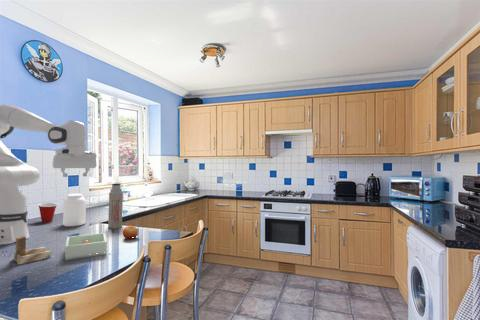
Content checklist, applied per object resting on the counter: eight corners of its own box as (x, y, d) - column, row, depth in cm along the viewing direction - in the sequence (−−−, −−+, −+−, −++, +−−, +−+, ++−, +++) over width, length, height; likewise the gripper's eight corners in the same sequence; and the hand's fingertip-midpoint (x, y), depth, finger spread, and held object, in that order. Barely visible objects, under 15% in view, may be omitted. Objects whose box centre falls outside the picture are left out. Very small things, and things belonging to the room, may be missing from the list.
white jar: (89, 222, 178) (90, 193, 178) (76, 227, 165) (77, 195, 165) (72, 221, 179) (73, 192, 179) (58, 226, 166) (58, 195, 166)
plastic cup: (49, 223, 172) (49, 205, 172) (33, 223, 172) (33, 205, 172) (60, 219, 183) (61, 202, 183) (45, 219, 183) (46, 202, 183)
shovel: (18, 264, 107) (18, 240, 107) (13, 259, 112) (14, 235, 112) (50, 257, 115) (51, 234, 115) (44, 252, 121) (45, 231, 121)
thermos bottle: (120, 228, 165) (121, 184, 166) (107, 228, 163) (108, 184, 163) (122, 225, 173) (124, 183, 173) (109, 225, 171) (110, 183, 171)
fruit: (131, 232, 152) (135, 221, 149) (137, 242, 147) (141, 231, 145) (118, 235, 146) (121, 224, 143) (123, 245, 141) (127, 234, 139)
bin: (64, 260, 112) (65, 246, 112) (67, 249, 126) (67, 236, 126) (106, 254, 120) (106, 241, 120) (104, 244, 134) (104, 232, 134)
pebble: (90, 247, 128) (85, 246, 129) (92, 241, 129) (87, 240, 130) (84, 246, 125) (79, 245, 126) (87, 240, 126) (82, 239, 127)
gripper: (94, 151, 150) (93, 175, 150) (51, 150, 134) (51, 176, 134) (98, 151, 146) (98, 176, 146) (55, 150, 130) (55, 177, 130)
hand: (75, 176), depth 140 cm, fingers open, 8 cm apart
